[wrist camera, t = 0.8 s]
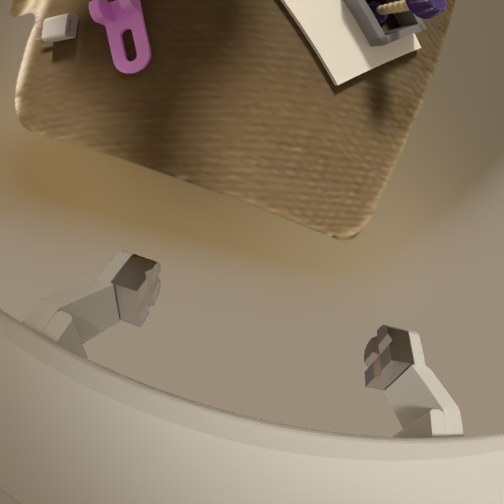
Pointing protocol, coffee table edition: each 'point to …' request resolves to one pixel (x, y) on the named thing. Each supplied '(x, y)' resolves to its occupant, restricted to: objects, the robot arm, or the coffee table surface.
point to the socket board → (352, 35)
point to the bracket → (117, 22)
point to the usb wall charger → (59, 28)
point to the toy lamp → (407, 8)
